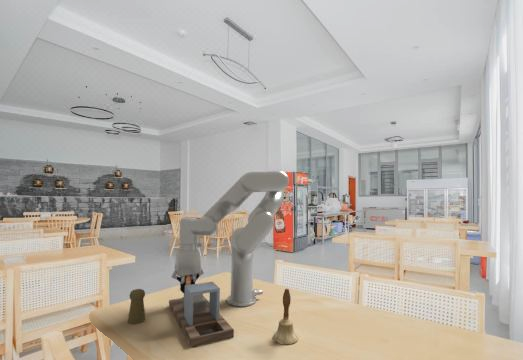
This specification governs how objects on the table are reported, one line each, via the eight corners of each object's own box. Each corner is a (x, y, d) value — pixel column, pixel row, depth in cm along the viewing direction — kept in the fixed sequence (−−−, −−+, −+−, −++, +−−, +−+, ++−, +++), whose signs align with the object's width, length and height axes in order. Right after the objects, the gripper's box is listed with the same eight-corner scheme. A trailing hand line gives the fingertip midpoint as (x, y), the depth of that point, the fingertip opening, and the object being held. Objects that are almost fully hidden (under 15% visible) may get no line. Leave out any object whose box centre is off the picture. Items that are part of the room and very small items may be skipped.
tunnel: (219, 319, 104) (219, 288, 104) (189, 325, 99) (190, 292, 99) (211, 311, 111) (212, 281, 111) (184, 316, 106) (184, 285, 106)
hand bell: (291, 330, 102) (292, 284, 102) (302, 342, 94) (303, 292, 94) (269, 334, 99) (270, 286, 100) (278, 346, 91) (279, 294, 92)
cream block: (198, 305, 116) (199, 289, 116) (202, 309, 112) (203, 293, 112) (186, 307, 114) (186, 291, 114) (189, 312, 109) (189, 295, 110)
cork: (139, 325, 104) (139, 293, 104) (123, 323, 105) (124, 292, 106) (148, 317, 110) (149, 288, 110) (134, 316, 111) (135, 286, 111)
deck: (233, 337, 97) (233, 329, 97) (191, 347, 90) (191, 339, 90) (202, 300, 127) (202, 294, 127) (168, 306, 121) (169, 300, 121)
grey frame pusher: (206, 308, 112) (206, 283, 112) (186, 312, 108) (187, 285, 109) (195, 295, 125) (195, 272, 126) (177, 298, 122) (178, 274, 122)
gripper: (204, 244, 130) (203, 286, 130) (166, 247, 122) (165, 291, 122) (210, 247, 123) (209, 291, 123) (170, 250, 116) (169, 297, 115)
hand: (187, 291), depth 122 cm, fingers closed on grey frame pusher, 3 cm apart
